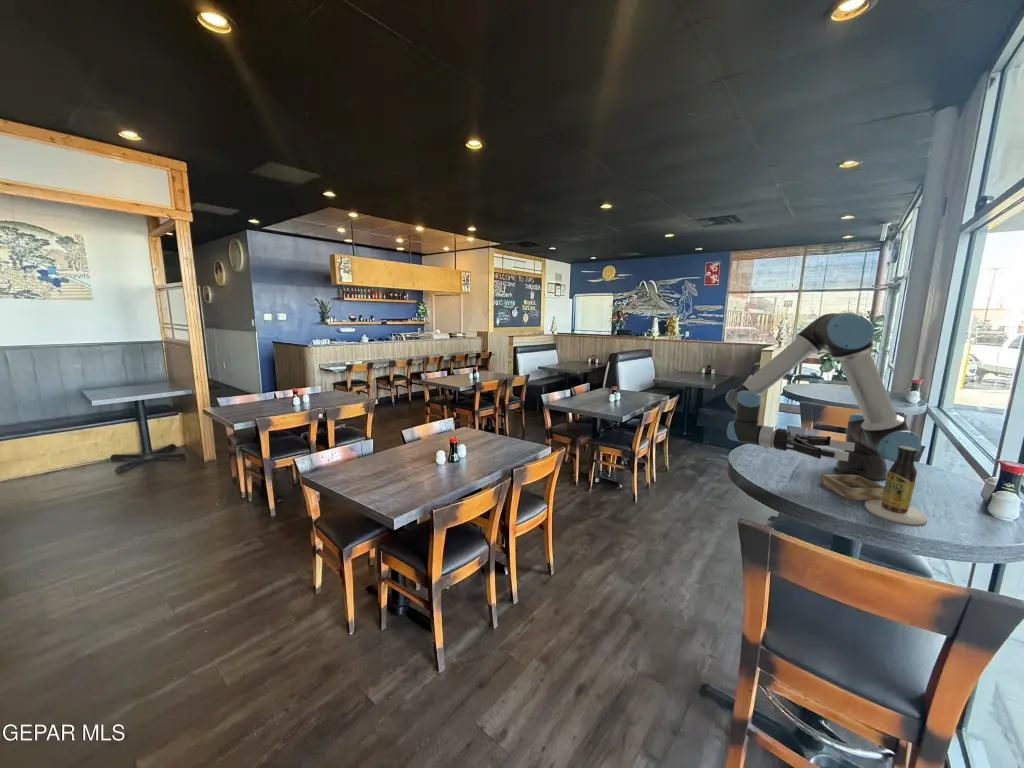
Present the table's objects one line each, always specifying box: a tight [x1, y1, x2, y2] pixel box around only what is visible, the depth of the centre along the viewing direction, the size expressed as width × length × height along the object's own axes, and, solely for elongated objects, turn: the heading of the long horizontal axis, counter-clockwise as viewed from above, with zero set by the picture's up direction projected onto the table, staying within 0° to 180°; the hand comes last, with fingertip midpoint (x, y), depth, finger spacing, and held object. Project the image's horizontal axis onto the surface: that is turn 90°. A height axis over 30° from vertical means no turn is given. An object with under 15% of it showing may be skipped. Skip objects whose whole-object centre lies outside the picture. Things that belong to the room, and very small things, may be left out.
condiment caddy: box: [819, 473, 885, 501], centre depth 141 cm, size 13×13×4 cm
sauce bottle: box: [882, 446, 918, 513], centre depth 124 cm, size 7×6×20 cm
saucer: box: [864, 500, 928, 526], centre depth 125 cm, size 14×14×1 cm
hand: (851, 451), depth 132 cm, fingers open, 13 cm apart
